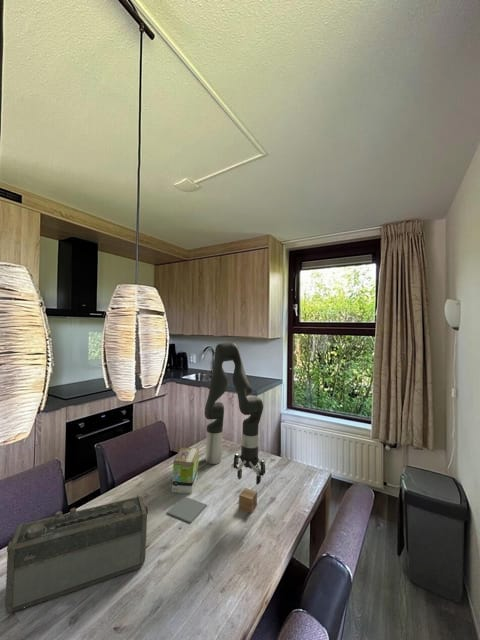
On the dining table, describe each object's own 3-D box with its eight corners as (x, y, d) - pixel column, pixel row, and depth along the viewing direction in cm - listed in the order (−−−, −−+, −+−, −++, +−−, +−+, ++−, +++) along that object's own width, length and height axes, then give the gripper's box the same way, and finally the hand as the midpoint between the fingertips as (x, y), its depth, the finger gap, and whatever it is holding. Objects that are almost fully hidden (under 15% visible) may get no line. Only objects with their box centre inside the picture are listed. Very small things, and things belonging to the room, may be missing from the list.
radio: (-2, 621, 73) (2, 543, 73) (13, 575, 86) (16, 510, 86) (148, 567, 90) (151, 505, 91) (142, 536, 103) (144, 482, 103)
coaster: (184, 497, 127) (184, 496, 127) (206, 505, 121) (206, 504, 121) (166, 513, 116) (166, 512, 116) (190, 523, 111) (190, 521, 111)
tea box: (192, 494, 130) (193, 462, 130) (171, 492, 130) (172, 460, 130) (198, 476, 145) (199, 447, 145) (178, 475, 145) (180, 446, 145)
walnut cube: (244, 501, 126) (244, 487, 126) (256, 505, 123) (257, 491, 123) (238, 509, 120) (239, 495, 120) (251, 513, 118) (252, 499, 118)
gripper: (268, 443, 122) (267, 481, 122) (239, 437, 129) (237, 472, 128) (262, 450, 116) (260, 490, 115) (231, 443, 122) (230, 480, 121)
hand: (248, 481), depth 122 cm, fingers open, 8 cm apart
